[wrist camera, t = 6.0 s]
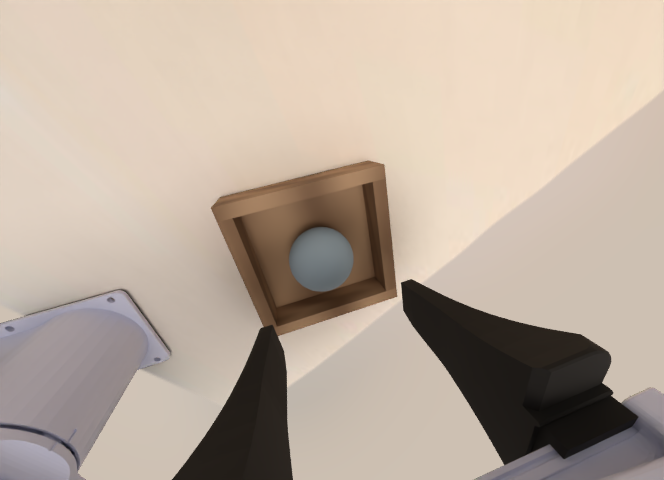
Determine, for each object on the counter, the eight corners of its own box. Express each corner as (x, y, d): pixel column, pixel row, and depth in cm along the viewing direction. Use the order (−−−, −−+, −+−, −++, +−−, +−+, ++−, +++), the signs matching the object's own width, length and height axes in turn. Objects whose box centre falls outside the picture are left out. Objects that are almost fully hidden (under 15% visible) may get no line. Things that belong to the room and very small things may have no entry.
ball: (296, 277, 21) (303, 314, 17) (279, 228, 19) (282, 255, 15) (347, 261, 22) (367, 292, 17) (337, 211, 20) (356, 232, 15)
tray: (269, 314, 23) (269, 338, 20) (220, 197, 18) (210, 208, 15) (382, 278, 24) (397, 296, 22) (368, 160, 19) (384, 164, 16)
